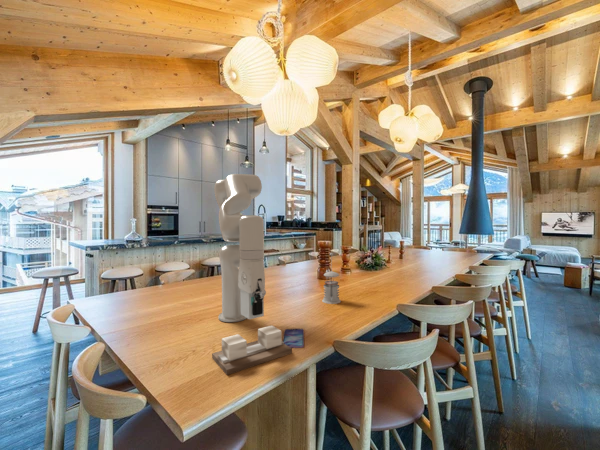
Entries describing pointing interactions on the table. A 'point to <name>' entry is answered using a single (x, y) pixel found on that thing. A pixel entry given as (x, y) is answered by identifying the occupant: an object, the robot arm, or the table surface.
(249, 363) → the rail board
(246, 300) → the module block
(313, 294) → the table surface
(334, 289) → the french press
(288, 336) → the smartphone
